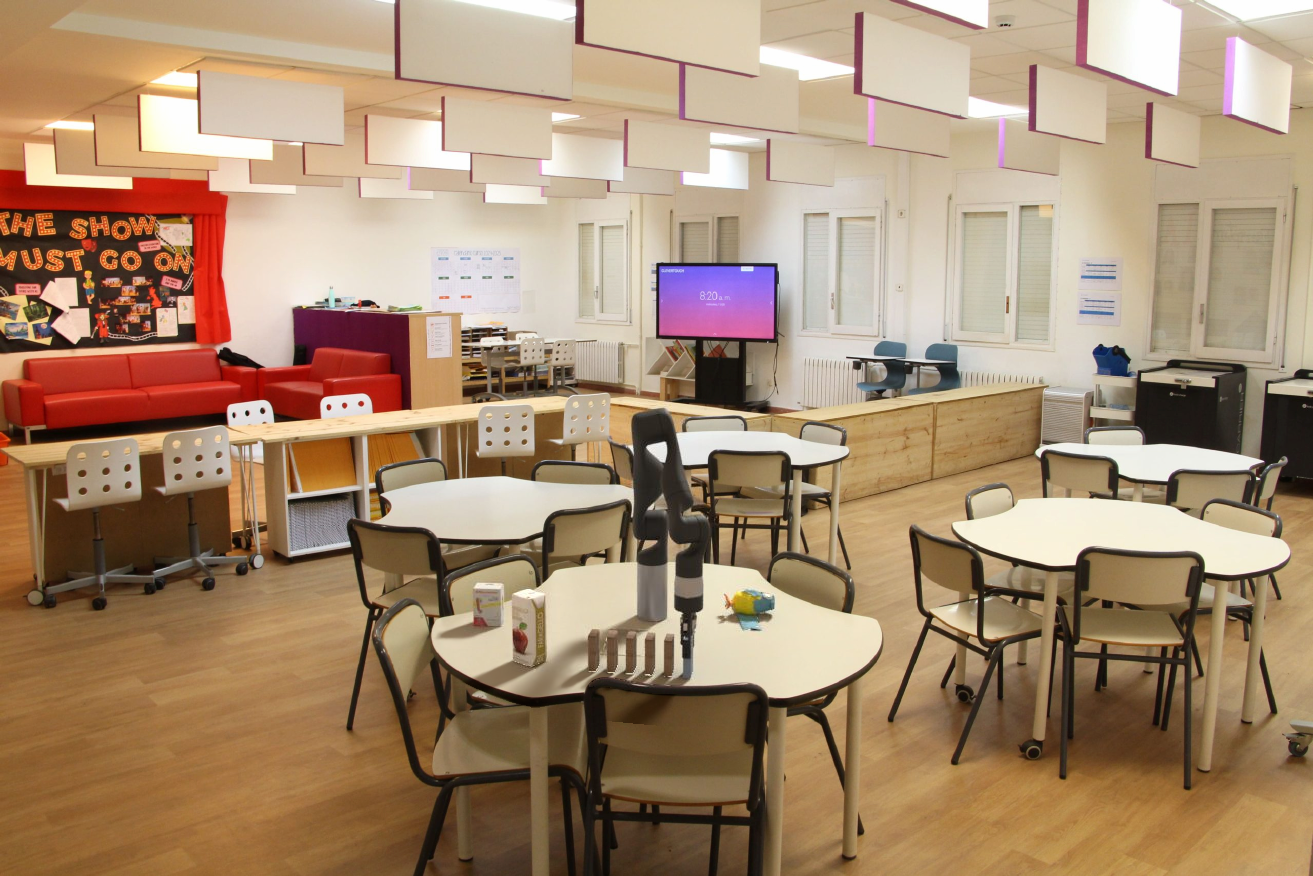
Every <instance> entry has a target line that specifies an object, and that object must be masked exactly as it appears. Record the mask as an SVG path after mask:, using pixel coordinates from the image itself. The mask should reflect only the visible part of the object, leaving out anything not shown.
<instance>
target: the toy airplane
mask: <svg viewBox="0 0 1313 876" xmlns="http://www.w3.org/2000/svg"><path fill="white" fill-rule="evenodd" d="M723 596H724V597H725V604H724V605H725V606H724V608H725V610H729V608H730V607H731V606H732V609H733V610H734V612H736V613H735V614H736V615H737V618H738V621H739V623H740V625H741V629H742V630H743V631H744V630H746V629H747V630H748V629H755V630H758V631H763V630H762V629H763V628H762V627H760V626H759V627H756V626H758V620H759V618H758V616H757V614H761V613H765V612H769V611H773V610H775V606H776V605H775V604H776V603H775V602H776V598H775V595H774V594H770V593H768V592H767V593H766V592H762V591H757V590H755V589H749V588H742V590H741V591H737V592H736V593H735V594H734V595H733V597H732V599H729V597H728V595H727V594H726V593H723Z"/></svg>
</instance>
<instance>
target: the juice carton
mask: <svg viewBox="0 0 1313 876" xmlns="http://www.w3.org/2000/svg"><path fill="white" fill-rule="evenodd" d="M511 624H512V625H511V629H512V631H511V632H512V633H511V634H512V661H513V662H514V661H516V662H519V663H522V664H525V665H527V666H533V665H536V664H538V663H541V662H543V663H545V662H547V661H548V660H547V659H548V643H547V642H548V641H547V640H548V637H547V635H548V634H547V633H548V631H547V629H548V628H547V626H548V625H547V593H544V592H537V591H535V590H533V589H531V588H527V589H522V590H519V591H517V592H514V593H511ZM546 660H547V661H546ZM544 661H545V662H544ZM516 662H515V663H516ZM519 663H518V664H519ZM522 664H521V665H522ZM541 664H542V663H541ZM525 665H524V666H525ZM538 665H539V664H538ZM527 666H526V667H527ZM536 666H537V665H536ZM533 667H534V666H533Z"/></svg>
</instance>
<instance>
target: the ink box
mask: <svg viewBox="0 0 1313 876" xmlns="http://www.w3.org/2000/svg"><path fill="white" fill-rule="evenodd" d="M472 605H473V606H472V608H473V609H472V610H473V611H472V613H473V615H472V616H473V618H472V620H473V627H502V626H503V625H504V622H505V584H503V583H500V582H499V583H498V582H496V583H494V582H476V584H475V585H474V586H473V588H472Z"/></svg>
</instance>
